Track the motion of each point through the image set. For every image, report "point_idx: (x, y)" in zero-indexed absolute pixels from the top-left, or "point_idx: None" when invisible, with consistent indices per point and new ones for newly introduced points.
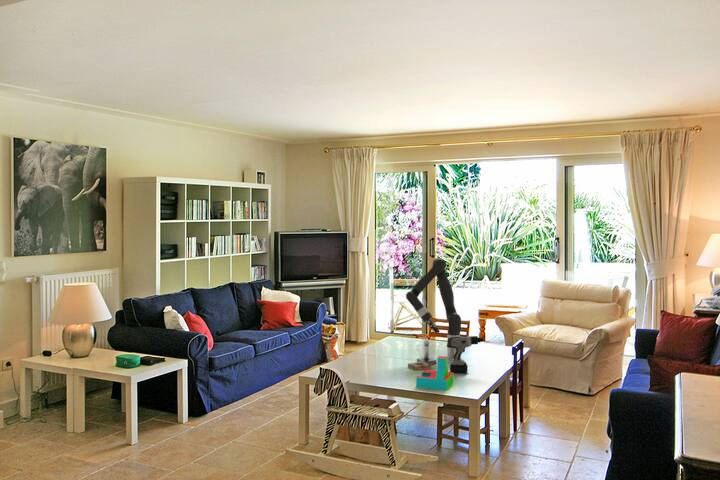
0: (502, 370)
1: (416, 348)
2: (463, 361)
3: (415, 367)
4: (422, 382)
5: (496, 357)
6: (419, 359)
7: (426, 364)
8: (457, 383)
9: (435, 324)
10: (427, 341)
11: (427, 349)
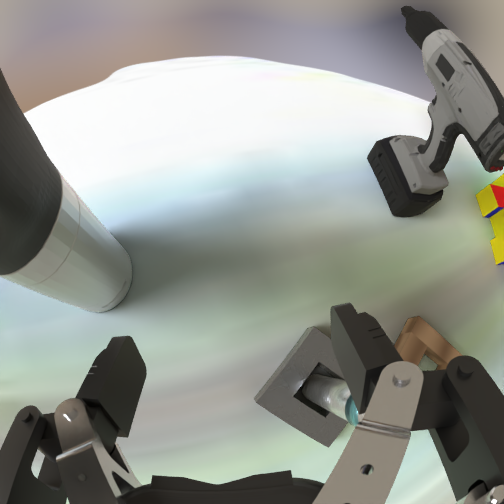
0: (277, 67)
1: None
2: (420, 138)
3: None
4: None
5: (72, 113)
6: (340, 426)
7: (425, 336)
8: (484, 176)
9: (93, 447)
10: None
11: None
